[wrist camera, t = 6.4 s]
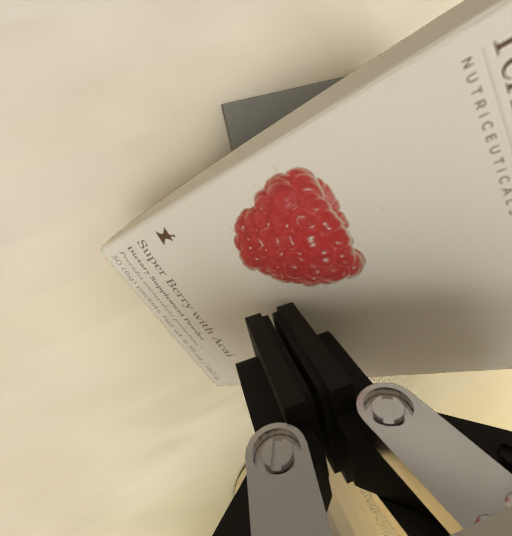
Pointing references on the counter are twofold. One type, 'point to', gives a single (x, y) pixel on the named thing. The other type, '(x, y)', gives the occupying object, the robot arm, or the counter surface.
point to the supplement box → (355, 215)
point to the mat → (266, 110)
